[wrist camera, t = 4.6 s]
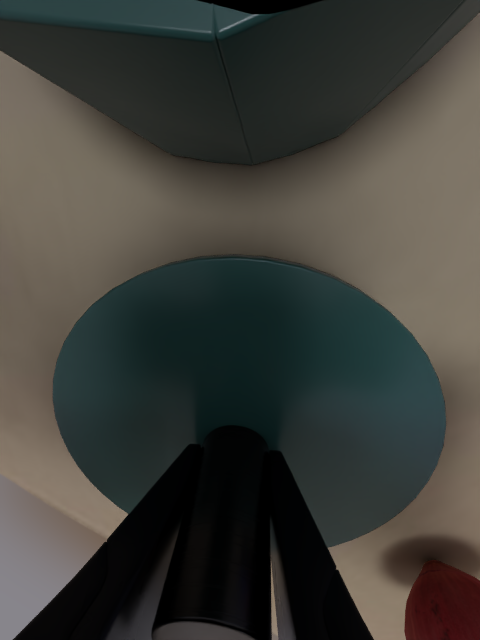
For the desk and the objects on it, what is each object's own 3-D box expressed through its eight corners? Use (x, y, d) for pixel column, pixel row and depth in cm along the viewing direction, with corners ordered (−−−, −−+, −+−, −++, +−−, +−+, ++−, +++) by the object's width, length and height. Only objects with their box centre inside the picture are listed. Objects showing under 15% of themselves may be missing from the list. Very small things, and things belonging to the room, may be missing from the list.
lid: (153, 533, 14) (85, 725, 9) (3, 307, 9) (-356, 436, 4) (426, 520, 11) (562, 782, 6) (426, 189, 6) (1137, 85, 1)
